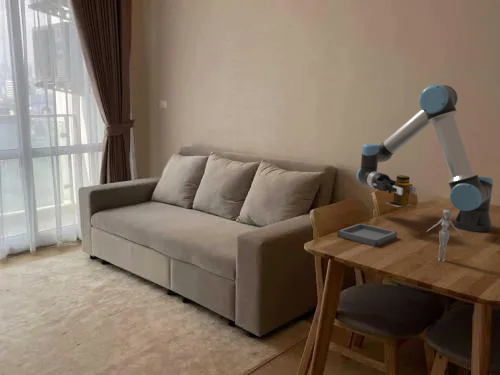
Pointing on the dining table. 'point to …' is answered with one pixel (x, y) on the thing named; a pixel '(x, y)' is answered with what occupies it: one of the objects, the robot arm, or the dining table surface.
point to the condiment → (403, 199)
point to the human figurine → (444, 231)
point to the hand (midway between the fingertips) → (409, 191)
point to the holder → (367, 234)
